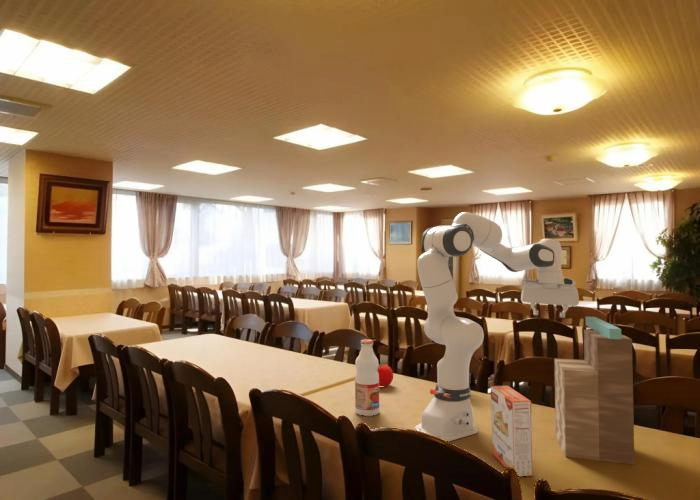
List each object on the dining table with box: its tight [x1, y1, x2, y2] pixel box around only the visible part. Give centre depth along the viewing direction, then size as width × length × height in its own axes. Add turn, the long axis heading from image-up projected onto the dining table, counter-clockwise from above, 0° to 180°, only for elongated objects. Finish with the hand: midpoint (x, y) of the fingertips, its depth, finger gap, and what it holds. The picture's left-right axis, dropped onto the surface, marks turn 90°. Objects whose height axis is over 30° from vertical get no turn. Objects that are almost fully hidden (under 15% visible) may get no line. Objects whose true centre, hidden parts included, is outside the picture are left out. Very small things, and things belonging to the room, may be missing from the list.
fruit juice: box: [354, 338, 380, 417], centre depth 164 cm, size 9×9×28 cm
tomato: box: [377, 363, 394, 387], centre depth 197 cm, size 12×12×10 cm
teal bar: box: [584, 316, 622, 339], centre depth 134 cm, size 26×3×3 cm, turn 164°
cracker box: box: [490, 385, 534, 478], centre depth 121 cm, size 14×6×21 cm, turn 5°
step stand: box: [553, 329, 635, 465], centre depth 131 cm, size 15×18×36 cm
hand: (549, 316), depth 161 cm, fingers open, 8 cm apart
